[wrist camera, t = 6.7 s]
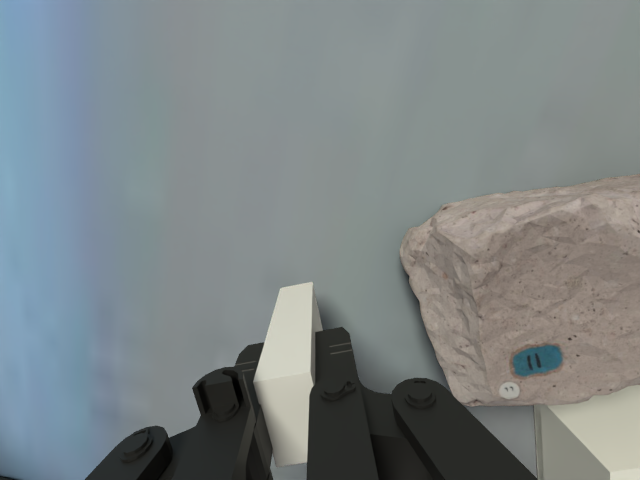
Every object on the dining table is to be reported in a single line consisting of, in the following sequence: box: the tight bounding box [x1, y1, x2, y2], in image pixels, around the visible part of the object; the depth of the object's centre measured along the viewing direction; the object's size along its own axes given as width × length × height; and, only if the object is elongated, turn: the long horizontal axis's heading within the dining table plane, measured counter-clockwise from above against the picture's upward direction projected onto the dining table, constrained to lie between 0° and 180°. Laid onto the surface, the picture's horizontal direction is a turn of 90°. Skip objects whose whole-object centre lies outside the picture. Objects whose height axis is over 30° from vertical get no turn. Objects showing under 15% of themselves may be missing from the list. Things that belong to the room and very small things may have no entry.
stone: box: [400, 174, 640, 406], centre depth 14 cm, size 13×10×6 cm
